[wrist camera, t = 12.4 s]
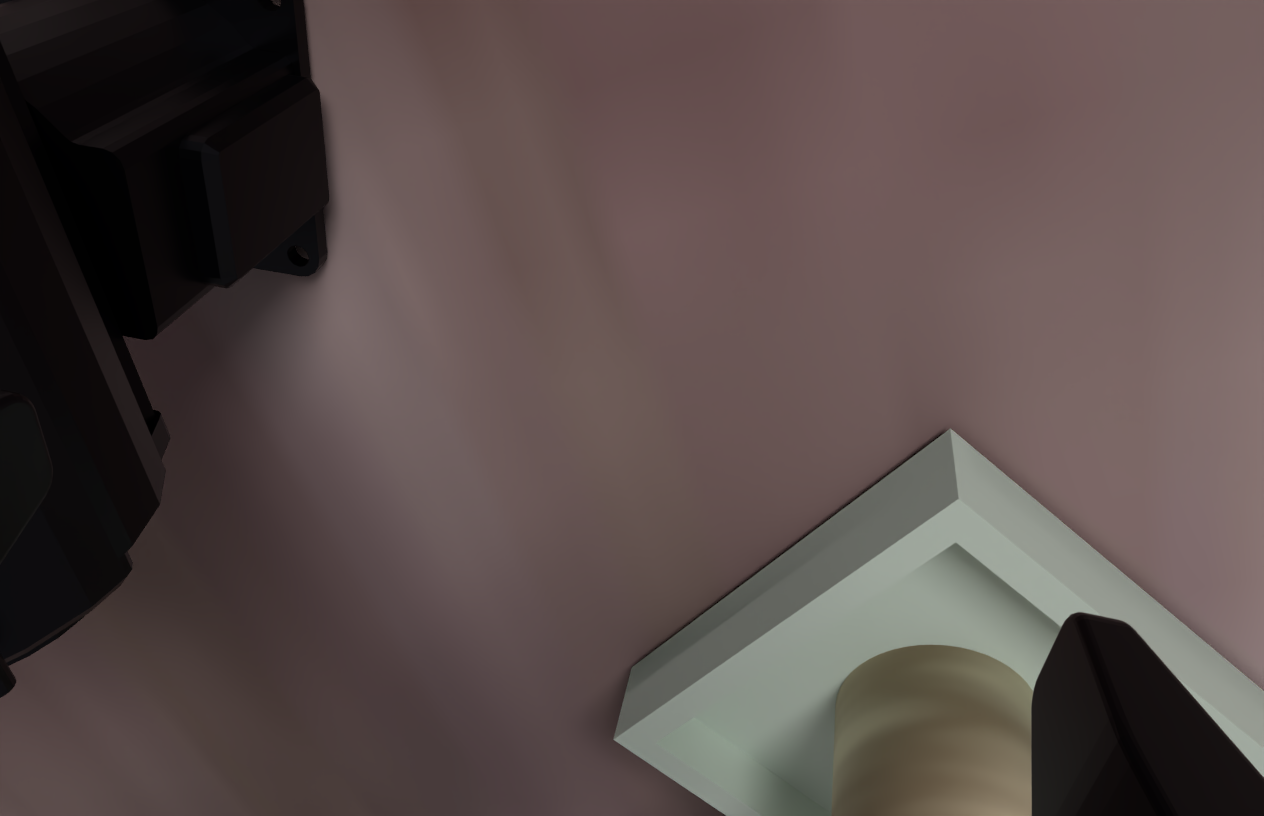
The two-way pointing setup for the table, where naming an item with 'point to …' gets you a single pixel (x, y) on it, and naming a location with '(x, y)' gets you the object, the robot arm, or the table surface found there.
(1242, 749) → the tray
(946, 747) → the dowel
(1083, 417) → the table surface
